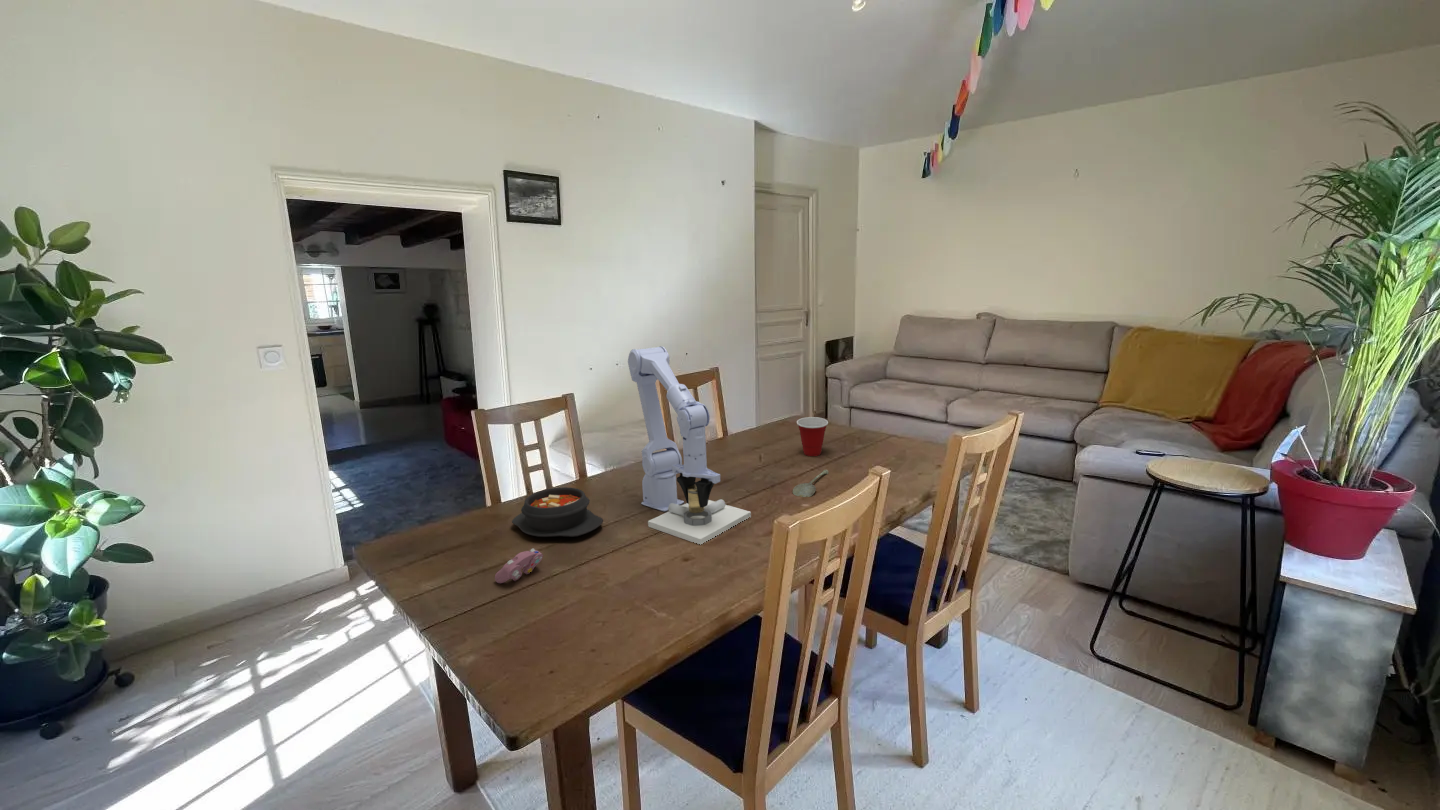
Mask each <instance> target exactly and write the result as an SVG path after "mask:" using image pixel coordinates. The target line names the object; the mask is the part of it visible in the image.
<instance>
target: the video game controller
mask: <svg viewBox="0 0 1440 810" xmlns="http://www.w3.org/2000/svg"><path fill="white" fill-rule="evenodd" d="M543 557H544V555H543V553H542V552H540V550H537V549H535V548H531V549H530V550H525V551H521V552H518V553H517V554H516V555H515V556H514V557H512V558H511V559H510V560H507V562H506V563H505V564H503V567H502V568H500V569H499V570H498V571H497V572H496V573H495V576H494V580H495V582H496V583H497V584H504V583H505V582H507V581H509V580H512V581H514V582H516V581H518V580H519V579H520V578H521V577H522V575H523V573H524V574H525V575H529V574H530V572H531V573H532V572H533V570H534V569H535V567H536V566H537V565H538V564H540V563H541V561H542V560H543Z"/></svg>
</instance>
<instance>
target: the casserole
mask: <svg viewBox="0 0 1440 810" xmlns="http://www.w3.org/2000/svg"><path fill="white" fill-rule="evenodd" d="M589 505H590V499H589V497H587V496H586V493H585V492H584V491H583V490H582V489H579V488H575V487H552V488H547V489H543V490H540V491H537V492H535V493H532V494H531V495H529V496H527V497H526V498H525V500H524V503H523V505H522V507H521V509H520V511H521V513H519V514H518V515H516V516H515V517H514V518H513V519H512V520H511V523H512V524H513V525H515V526H516V527H518V528H519V529H520V531H521V532H522V533H524V534H527V535H529V536H534V537H541V538H548V537H553V538H554V537H569V538H570V537H571V538H572V537H573V538H574V537H580V536H583V535H585V534H589V533H591V532H593V531H595V530H596V529H598V528H599V527H600V526H602V524H603V522H604V519H603V517H601V516H598V515H596V514H594V513H593V512H592V511H591V510H589V509H588V506H589Z"/></svg>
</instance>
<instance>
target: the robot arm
mask: <svg viewBox="0 0 1440 810" xmlns="http://www.w3.org/2000/svg"><path fill="white" fill-rule="evenodd" d="M670 363H671V362H670V354H669V352H668V350H667V349H666V347H664V346H663V345H660V346H655V347H647V348H637V349H636V348H633V349H631V350H630V352H629V354H628V359H627V364H628V370H629V375H630V377H631V381H633V382H635V383H636V386H637V390H638V395H639V396H638V397H639V399H640V405H641V409H642V414H643V419H644V423H645V429H646V433H647V436H648V437H647V438H648V442H647V443H646V445H644V447H643V448H642V450H641V457H642V463H641V465H642V469H643V472H644V473H645V474H644V476H643V478H642V481H641V483H642V486H641V487H642V499H643V500H642V501H641V503H640V504H641V505H643V506H645V507H649V508H651V509H655V510H658V511H660V512H668V511H669V510H668V507H669V505H670V504H671V503H674V504H678V505H683V504H685V501H686V503H688V490H687V489H688V487H689V486H692V485H696V487H697V490H698V494H699V504H700V507H702V508H703V507H705V506H707V505H708V500H710V495H711V493H712V489H713V487H714V485H715V484H718V483H720V482H721V473H717V472H715V471H714V470H712V469H710V468H708V466H707V465H708V462H707V461H708V460H707V439H706V438H707V437H706V427H707V426H708V425H709V424H710V419H711V418H710V412H709V409H708V408H707V406H706V405H705V403H701V402H700V401H696V399H695V397H694V396H693V395H692V392H691V391H690V389H688V387H687V386H686V384H684V383H679V381H678V379H677V377H676V375H675V374H674V372H673V370H672V367H671V366H670ZM657 381H659V382H660V384H661V385H662V386H663V388H664V389H665V391H667V392H666V394H665V395H666V400H668V402H669V404H670V406H671V407H672V408H673V410H674V411H675V413H676V415H677V416H676V421H677V422H676V423H677V425H678V427H679V434H680V436H681V437H682V451H683V453H682V454H683V458H682V454H681V452H680V451H679V448H678V446H677V443H676V442H674V441H673V440H671V439H670V438H668V437H667V436H668V435H667V432H666V431H667V430H666V426H665V421H664V417H663V413H662V409H661V404H660V403H661V402H660V399H659V394H658V390H657V385H656V383H657ZM659 450H661V451H659ZM677 474H679V476H678V477H677ZM697 479H700V480H698V481H696V480H697ZM677 483H678V484H679V486H680V488H681V490H682V492H683V495H684V498H685V501H684V500H681V499H679V498H678V490H677V489H678V487H677Z"/></svg>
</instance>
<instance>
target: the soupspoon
mask: <svg viewBox="0 0 1440 810" xmlns="http://www.w3.org/2000/svg"><path fill="white" fill-rule="evenodd" d="M828 474H829V470H828V469H823V471H822V472H820V473H819V474H818V475H817V476H815V477H814V478H813V479H811V480H810V481H809V482H804V483H799V484H797V485H795V486H794V487H793V489H792V494H793V495H794V496H796V497H801V498H810V497H812V496H813V495H814V494H815V492H817V491H816V490H817V487H816V486H815V485H814V484H813V483H814V482H815V481H816V480H817V479H819V478H820V477H821V476H822V475H823V476H824V475H828Z"/></svg>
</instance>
